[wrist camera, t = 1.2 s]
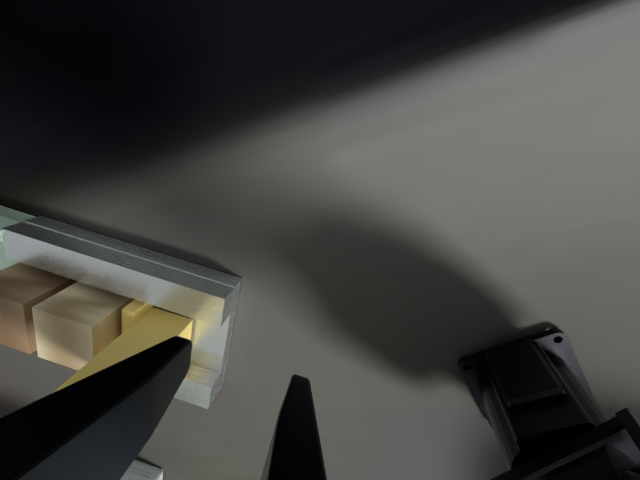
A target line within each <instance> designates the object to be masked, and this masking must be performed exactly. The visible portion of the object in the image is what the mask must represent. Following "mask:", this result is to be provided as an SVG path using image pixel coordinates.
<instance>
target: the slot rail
mask: <svg viewBox="0 0 640 480" xmlns="http://www.w3.org/2000/svg"><path fill="white" fill-rule="evenodd" d="M1 231H2V237H3V243H4V250H5V256H6V258H8V259H11V260H14V261H17V262H20V263H24V264H27V265H30V266H33V267H36V268H39V269H42V270H45V271H48V272H51V273H54V274H58V275H61V276H64V277H67V278H70V279H73V280H76V281H79V282H82V283H85V284H88V285H92V286H95V287H98V288H101V289H104V290H107V291H110V292H113V293H116V294H119V295H122V296H126V297H129V298H132V299H135V300H138V301H141V302H144V303H147V304H150V305H153V307H154V308H157V309H160V310H163V311H166V312H169V313H172V314H176V315H179V316H182V317H185V318H188V319H191V320H193V321H192V331H191V341H192V352H191V361H190V367H189V370H188V373H187V375H186V377H185V378H184V380H183V382H182V383H181V385H180V387H179V389H178V390H177V392H176V394H175V396H174V398H177V399H180V400H183V401H186V402H189V403H192V404H194V405H197V406H200V407H203V408H206V409H209V407H210V405H211V404H212V402H213V400H214V398H215V397H216V395H217V394H218V392H219V390H220V388H221V387H222V385H223V383H224V381H225V375H226V369H227V363H228V357H229V351H230V345H231V340H232V334H233V328H234V322H235V316H236V310H237V304H238V298H239V293H240V287H241V281H242V278H240V277H236V276H233V275H230V274H227V273H224V272H220V271H217V270H214V269H211V268H207V267H204V266H201V265H198V264H195V263H191V262H188V261H185V260H182V259H179V258H175V257H172V256H169V255H166V254H163V253H159V252H156V251H153V250H150V249H146V248H143V247H140V246H137V245H134V244H130V243H127V242H124V241H121V240H118V239H114V238H111V237H108V236H105V235H102V234H98V233H95V232H92V231H89V230H85V229H82V228H79V227H76V226H73V225H69V224H66V223H63V222H60V221H57V220H53V219H50V218H47V217H44V216H38V217H35V218H31V219H28V220H25V221H24V222H20V223H17V224H14V225H10V226H7V227H4V228H1Z"/></svg>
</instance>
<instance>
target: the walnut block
mask: <svg viewBox="0 0 640 480" xmlns="http://www.w3.org/2000/svg"><path fill="white" fill-rule="evenodd" d="M76 282H78V281H76V280H73V279H70V278H67V277H64V276H61V275H58V274H54V273H51V272H48V271H45V270H42V269H39V268H36V267H33V266H30V265H27V264H24V263H20V262H19V263H17V264H14V265H12V266H9V267H7V268H4V269H2V270H0V344H2V345H5V346H8V347H11V348H14V349H17V350H20V351H23V352H26V353H28V354H31V353H32V352H34V351H35V350H37V344H36V336H35V329H34V321H33V314H32V307H33V306H35V305H37V304H38V303H40V302H42V301H44V300H46V299H47V298H49V297H51V296H53V295H55V294H56V293H58V292H60V291H62V290H64V289H65V288H67V287H69V286H71V285H73V284H74V283H76Z"/></svg>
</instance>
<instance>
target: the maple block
mask: <svg viewBox="0 0 640 480" xmlns="http://www.w3.org/2000/svg"><path fill="white" fill-rule="evenodd" d="M133 300H135V299H132V298H129V297H126V296H122V295H119V294H116V293H113V292H110V291H107V290H104V289H101V288H98V287H95V286H92V285H88V284H85V283H82V282H79V281H78V282H76V283H74V284H73V285H71V286H69V287H67V288H65V289H64V290H62V291H60V292H58V293H56V294H55V295H53V296H51V297H49V298H47V299H46V300H44V301H42V302H40V303H38V304H37V305H35V306H33V307H32V314H33V321H34V329H35V336H36V344H37V351H38V357H40V358H43V359H46V360H49V361H52V362H55V363H58V364H61V365H64V366H67V367H69V368H72V369H75V370H78V371H79V370H80V369H81V368H82V367H83V366H85V365H86V364H87V363H88V362H89V361H90V360H92V359H93V358H94V357H95V356H96V355H98V354H99V353H100V352H101V351H102V350H103V349H105V348H106V347H107V346H108V345H109V344H110V343H112V342H113V341H114V340H115V339H116V338H117V337H119V336H120V335H121V334H122V309H123V308H124V307H125V306H127V305H128V304H129V303H131V302H132V301H133Z"/></svg>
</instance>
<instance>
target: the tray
mask: <svg viewBox="0 0 640 480" xmlns="http://www.w3.org/2000/svg"><path fill="white" fill-rule="evenodd" d="M35 217H36V216H33V215H29V214H26V213H23V212H20V211H17V210H13V209H10V208H7V207H4V206H1V205H0V270H2V269H4V268H7V267H9V266H12V265H14V264H17V263H19V262H17V261H14V260H11V259H8V258H6V256H5V250H4V243H3V237H2V231H1V228H4V227H7V226H10V225H14V224H17V223H20V222H24V221H25V220H28V219H31V218H35Z"/></svg>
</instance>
